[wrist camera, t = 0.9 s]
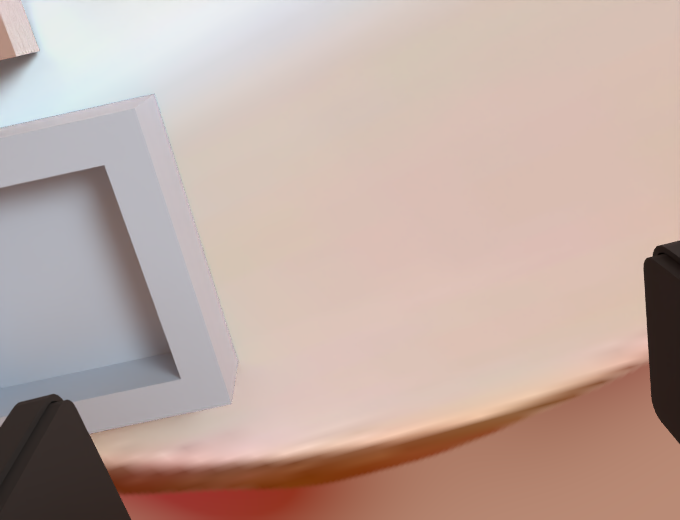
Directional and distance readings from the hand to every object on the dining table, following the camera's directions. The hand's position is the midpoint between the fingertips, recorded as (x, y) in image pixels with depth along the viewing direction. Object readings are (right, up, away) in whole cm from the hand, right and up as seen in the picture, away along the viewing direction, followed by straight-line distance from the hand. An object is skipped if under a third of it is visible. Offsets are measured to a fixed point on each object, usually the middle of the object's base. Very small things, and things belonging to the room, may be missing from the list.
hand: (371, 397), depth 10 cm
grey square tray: (-15, +2, +23) cm, 28 cm away
